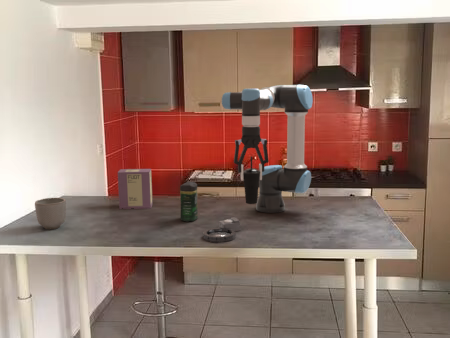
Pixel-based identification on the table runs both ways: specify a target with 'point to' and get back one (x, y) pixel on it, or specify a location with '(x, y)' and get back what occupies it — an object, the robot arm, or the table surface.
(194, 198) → the coffee jar
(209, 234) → the plate
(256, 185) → the drinking cup
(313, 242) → the table surface
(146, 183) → the box
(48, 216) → the planter
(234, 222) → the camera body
